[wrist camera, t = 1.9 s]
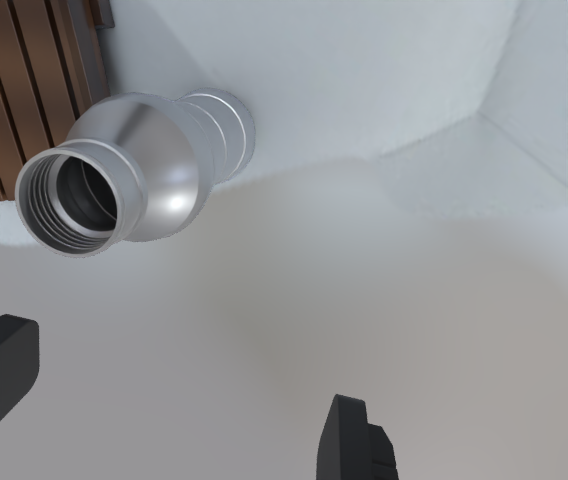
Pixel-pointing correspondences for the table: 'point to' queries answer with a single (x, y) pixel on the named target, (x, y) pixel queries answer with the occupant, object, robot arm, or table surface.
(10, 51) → the wooden slatted rack
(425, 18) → the table surface
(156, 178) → the silver metal bottle
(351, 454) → the robot arm
